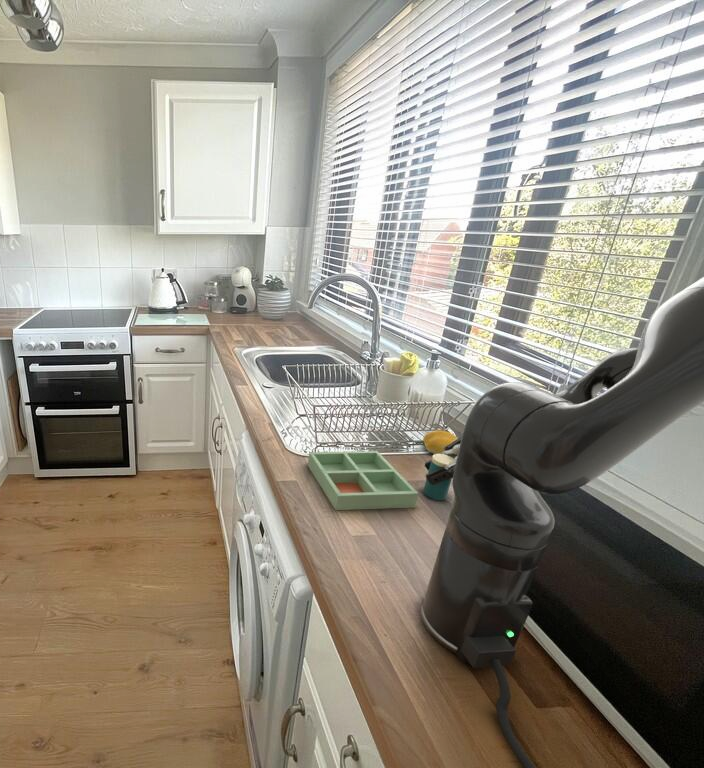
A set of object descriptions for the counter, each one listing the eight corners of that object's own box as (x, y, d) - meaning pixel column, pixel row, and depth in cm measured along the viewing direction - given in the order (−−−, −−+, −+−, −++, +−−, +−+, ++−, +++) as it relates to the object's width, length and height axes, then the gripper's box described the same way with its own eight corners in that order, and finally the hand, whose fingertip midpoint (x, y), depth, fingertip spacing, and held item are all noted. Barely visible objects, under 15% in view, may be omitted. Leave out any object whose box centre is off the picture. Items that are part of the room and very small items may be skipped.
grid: (415, 507, 77) (418, 493, 76) (335, 510, 76) (338, 495, 75) (374, 463, 92) (377, 450, 91) (307, 465, 90) (309, 452, 89)
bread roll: (428, 456, 95) (431, 441, 94) (419, 438, 103) (423, 424, 102) (468, 462, 93) (473, 447, 91) (456, 444, 101) (460, 429, 99)
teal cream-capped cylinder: (450, 500, 80) (461, 464, 77) (431, 500, 79) (441, 465, 76) (437, 487, 83) (447, 453, 80) (418, 488, 83) (428, 453, 80)
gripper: (548, 469, 65) (443, 510, 75) (525, 432, 77) (437, 471, 87) (518, 432, 66) (416, 477, 75) (500, 401, 78) (414, 443, 87)
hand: (428, 473), depth 81 cm, fingers closed on teal cream-capped cylinder, 4 cm apart
